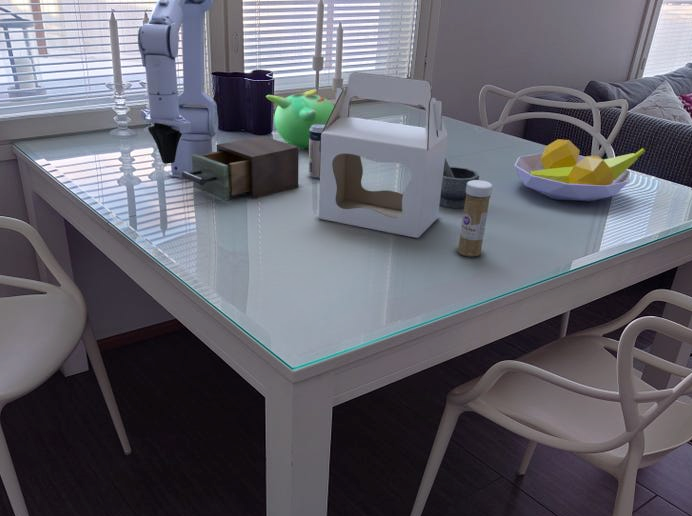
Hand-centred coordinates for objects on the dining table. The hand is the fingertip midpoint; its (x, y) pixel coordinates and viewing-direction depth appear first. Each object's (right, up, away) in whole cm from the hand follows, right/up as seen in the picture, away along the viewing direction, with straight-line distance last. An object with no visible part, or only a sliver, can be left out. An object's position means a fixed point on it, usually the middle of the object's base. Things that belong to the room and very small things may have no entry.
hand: (168, 162), depth 141 cm
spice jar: (+30, +4, +28) cm, 41 cm away
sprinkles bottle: (+59, -20, -10) cm, 64 cm away
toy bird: (+26, +19, +50) cm, 60 cm away
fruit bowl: (+90, -1, +24) cm, 94 cm away
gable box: (+43, -11, +4) cm, 45 cm away
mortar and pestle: (+60, -5, +14) cm, 62 cm away
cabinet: (+16, 0, +19) cm, 25 cm away
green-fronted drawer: (+9, -2, +13) cm, 16 cm away
